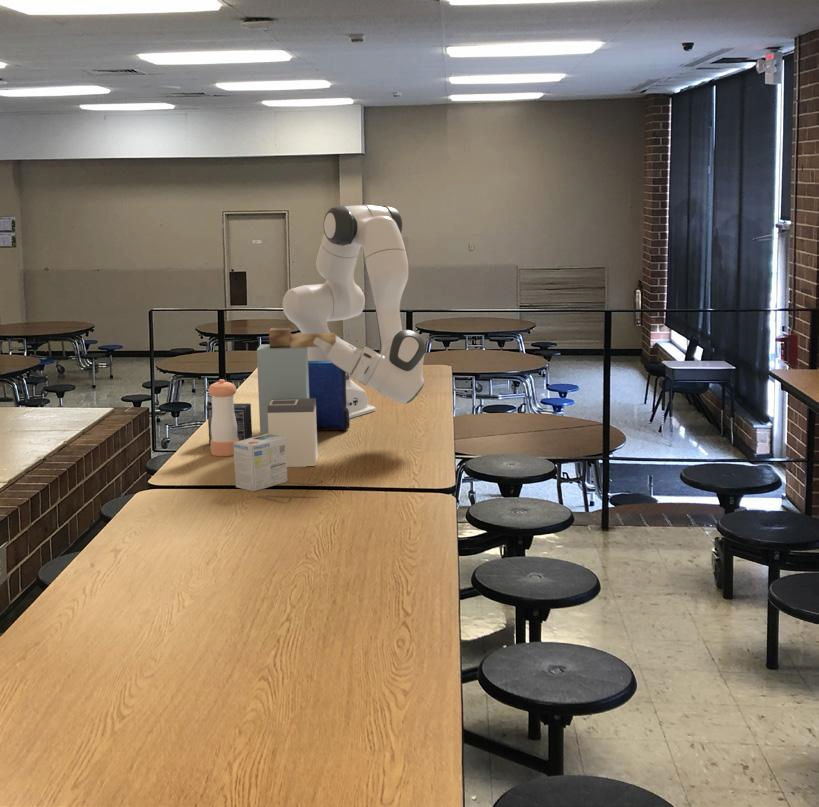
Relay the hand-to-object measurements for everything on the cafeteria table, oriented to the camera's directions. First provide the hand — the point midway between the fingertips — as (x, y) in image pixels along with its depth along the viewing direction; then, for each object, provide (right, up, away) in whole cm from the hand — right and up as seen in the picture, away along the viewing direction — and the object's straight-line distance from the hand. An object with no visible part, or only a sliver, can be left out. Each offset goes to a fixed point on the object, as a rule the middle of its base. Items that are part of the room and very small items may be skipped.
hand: (315, 338), depth 283 cm
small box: (-24, -27, +15) cm, 39 cm away
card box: (-5, -31, -7) cm, 32 cm away
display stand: (-8, -29, +5) cm, 30 cm away
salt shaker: (-23, -29, +4) cm, 38 cm away
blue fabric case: (0, -24, +29) cm, 38 cm away
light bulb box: (-10, -35, -28) cm, 46 cm away
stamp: (-3, -2, 0) cm, 4 cm away
